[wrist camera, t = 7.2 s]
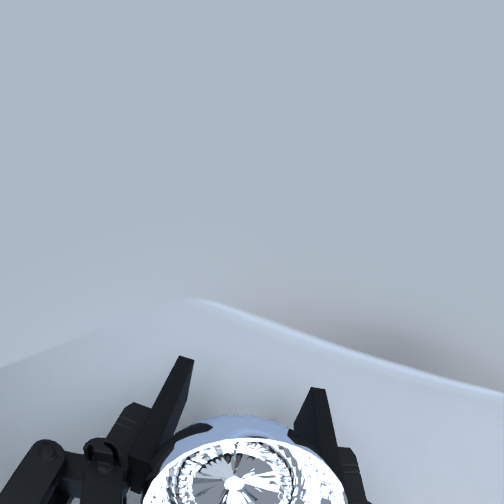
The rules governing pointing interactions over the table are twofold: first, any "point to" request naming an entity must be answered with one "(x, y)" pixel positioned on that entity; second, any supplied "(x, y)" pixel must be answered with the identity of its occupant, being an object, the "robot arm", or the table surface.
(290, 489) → the wineglass
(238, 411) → the table surface
